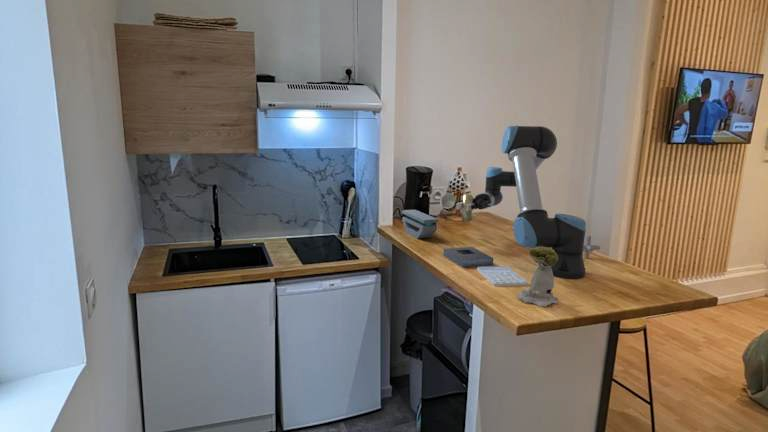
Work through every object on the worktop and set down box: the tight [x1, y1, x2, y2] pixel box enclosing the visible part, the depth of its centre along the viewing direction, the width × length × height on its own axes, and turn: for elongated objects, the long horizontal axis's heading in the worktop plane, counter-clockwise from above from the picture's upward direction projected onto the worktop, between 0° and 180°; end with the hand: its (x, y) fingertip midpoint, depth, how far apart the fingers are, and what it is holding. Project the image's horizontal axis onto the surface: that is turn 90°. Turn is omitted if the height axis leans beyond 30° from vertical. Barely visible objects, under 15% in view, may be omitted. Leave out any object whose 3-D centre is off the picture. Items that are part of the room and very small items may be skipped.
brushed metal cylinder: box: [461, 193, 474, 223], centre depth 222 cm, size 4×4×12 cm
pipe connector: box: [583, 235, 601, 259], centre depth 214 cm, size 10×10×10 cm
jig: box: [443, 246, 495, 268], centre depth 206 cm, size 18×14×3 cm
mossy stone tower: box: [517, 246, 559, 307], centre depth 162 cm, size 12×13×18 cm
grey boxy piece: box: [401, 209, 439, 240], centre depth 245 cm, size 25×8×11 cm, turn 23°
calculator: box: [476, 265, 529, 287], centre depth 186 cm, size 13×20×2 cm, turn 8°
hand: (462, 207), depth 218 cm, fingers closed on brushed metal cylinder, 4 cm apart
